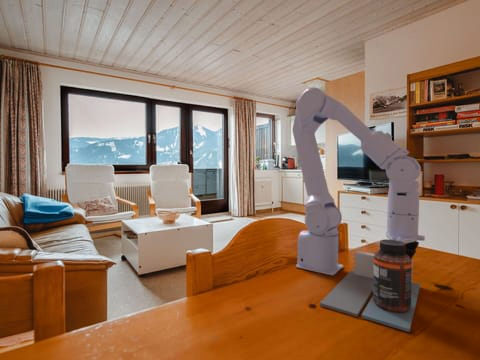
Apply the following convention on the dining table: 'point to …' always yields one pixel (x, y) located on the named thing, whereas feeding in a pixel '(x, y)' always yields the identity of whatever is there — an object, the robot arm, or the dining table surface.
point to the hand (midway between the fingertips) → (400, 276)
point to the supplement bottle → (392, 277)
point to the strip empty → (353, 287)
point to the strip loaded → (393, 318)
